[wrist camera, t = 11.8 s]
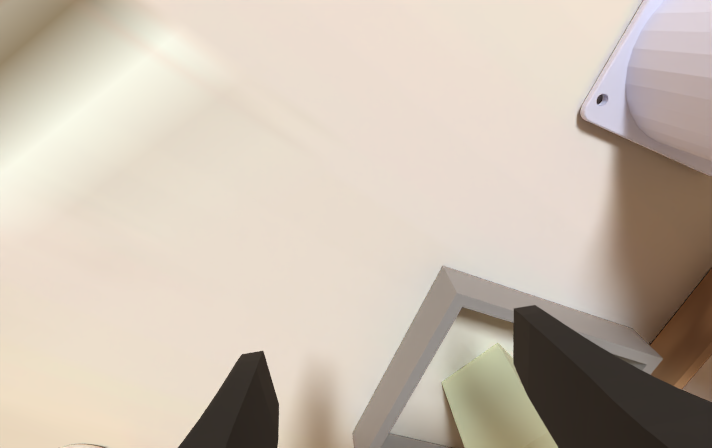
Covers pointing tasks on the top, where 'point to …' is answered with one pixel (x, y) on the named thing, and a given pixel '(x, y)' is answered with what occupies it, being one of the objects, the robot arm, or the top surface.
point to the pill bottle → (80, 446)
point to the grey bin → (433, 325)
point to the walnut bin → (686, 337)
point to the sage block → (494, 405)
